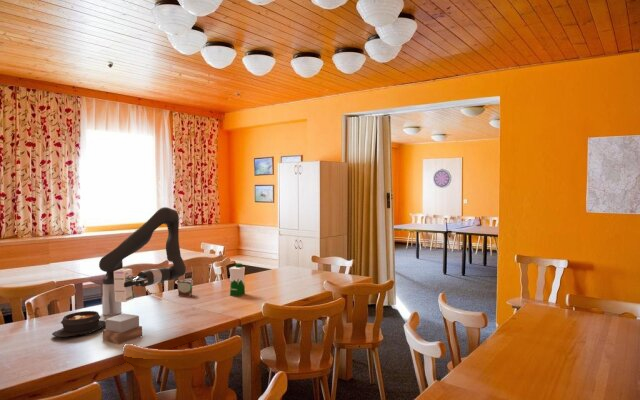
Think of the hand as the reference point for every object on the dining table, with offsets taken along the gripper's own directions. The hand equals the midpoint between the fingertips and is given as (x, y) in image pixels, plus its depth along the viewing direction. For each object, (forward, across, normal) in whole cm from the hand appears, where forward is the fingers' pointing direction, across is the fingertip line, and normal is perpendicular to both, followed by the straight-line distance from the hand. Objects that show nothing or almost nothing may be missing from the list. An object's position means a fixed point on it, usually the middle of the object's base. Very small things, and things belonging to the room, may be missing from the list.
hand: (119, 284), depth 194 cm
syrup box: (-2, 0, +8) cm, 8 cm away
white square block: (-1, 0, +21) cm, 21 cm away
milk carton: (-90, -8, +27) cm, 94 cm away
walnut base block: (-1, 0, +26) cm, 26 cm away
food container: (-74, -37, +26) cm, 87 cm away
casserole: (+3, -26, +26) cm, 37 cm away
